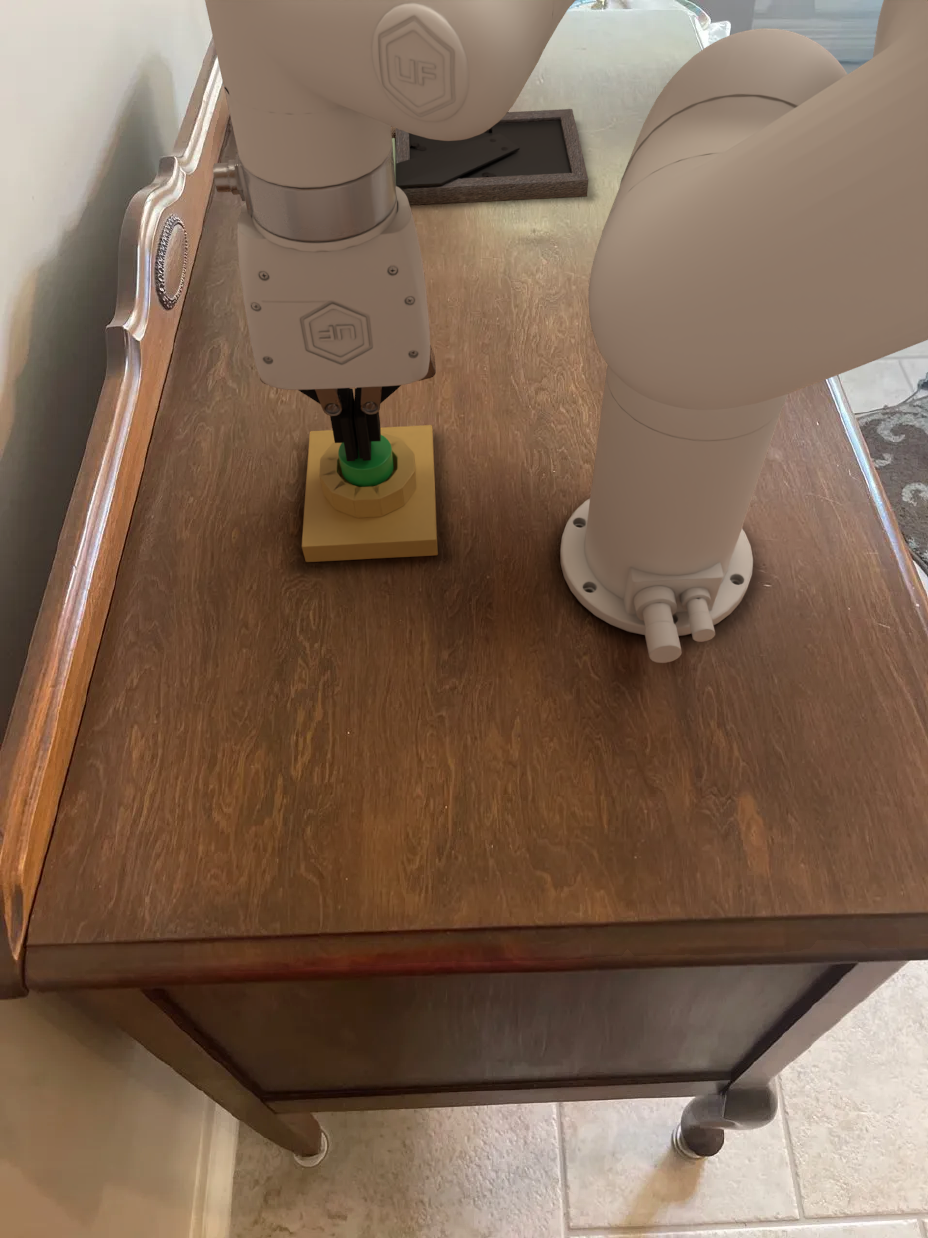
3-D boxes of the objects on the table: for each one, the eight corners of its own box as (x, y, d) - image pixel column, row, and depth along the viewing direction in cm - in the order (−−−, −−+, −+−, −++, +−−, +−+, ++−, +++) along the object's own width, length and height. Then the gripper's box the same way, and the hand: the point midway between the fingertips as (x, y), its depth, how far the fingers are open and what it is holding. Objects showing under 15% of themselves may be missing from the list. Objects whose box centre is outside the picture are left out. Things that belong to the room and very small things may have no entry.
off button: (394, 486, 62) (391, 467, 61) (340, 488, 62) (337, 470, 61) (393, 448, 64) (391, 429, 63) (342, 451, 64) (338, 432, 63)
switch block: (437, 555, 63) (435, 521, 60) (305, 562, 62) (296, 528, 60) (433, 441, 69) (430, 405, 66) (313, 447, 69) (305, 412, 66)
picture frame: (397, 205, 87) (587, 195, 87) (396, 185, 85) (588, 175, 86) (397, 132, 95) (571, 124, 95) (395, 113, 93) (572, 104, 93)
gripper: (162, 232, 44) (242, 492, 59) (472, 220, 44) (473, 482, 60) (182, 149, 48) (252, 412, 64) (465, 139, 49) (468, 403, 64)
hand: (359, 445), depth 62 cm, fingers closed
